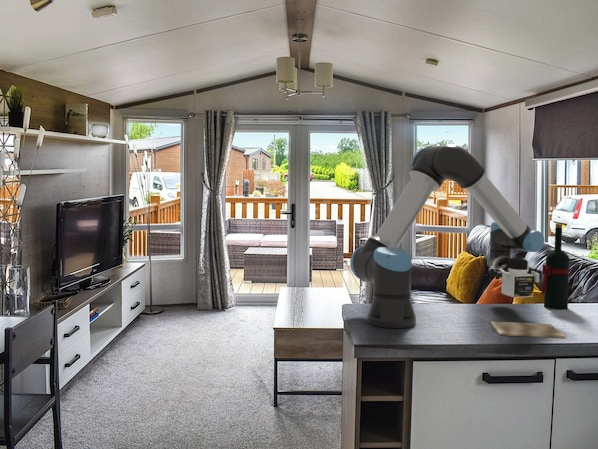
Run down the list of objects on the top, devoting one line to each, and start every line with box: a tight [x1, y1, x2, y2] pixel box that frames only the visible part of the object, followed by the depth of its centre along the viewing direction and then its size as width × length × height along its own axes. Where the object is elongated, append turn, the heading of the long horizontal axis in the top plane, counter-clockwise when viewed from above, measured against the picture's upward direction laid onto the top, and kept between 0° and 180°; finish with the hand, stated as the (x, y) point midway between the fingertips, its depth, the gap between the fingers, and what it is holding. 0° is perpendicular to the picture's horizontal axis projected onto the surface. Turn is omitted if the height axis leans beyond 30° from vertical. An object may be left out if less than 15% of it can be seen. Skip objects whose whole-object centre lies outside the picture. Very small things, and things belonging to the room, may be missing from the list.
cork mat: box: [490, 321, 566, 339], centre depth 171 cm, size 18×14×1 cm
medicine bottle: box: [500, 257, 535, 299], centre depth 182 cm, size 7×7×12 cm
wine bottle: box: [539, 223, 570, 311], centre depth 202 cm, size 8×10×30 cm
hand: (521, 277), depth 177 cm, fingers closed on medicine bottle, 9 cm apart
